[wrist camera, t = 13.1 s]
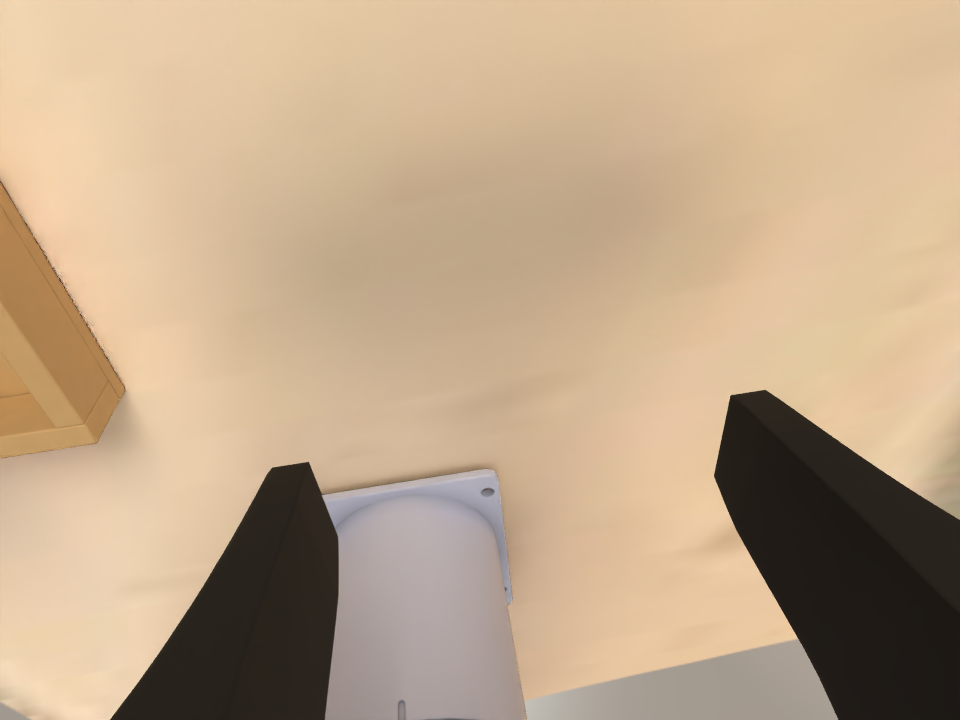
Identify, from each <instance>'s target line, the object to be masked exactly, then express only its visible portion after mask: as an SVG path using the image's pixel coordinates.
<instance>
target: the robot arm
mask: <svg viewBox="0 0 960 720" xmlns="http://www.w3.org/2000/svg"><path fill="white" fill-rule="evenodd" d="M714 477H715V480H716V482H717V485H718V487H719V490H720V492H721V495H722V497H723V500H724V502H725V505H726V507H727V509H728V512H729V514H730V516H731V519H732V521H733V523H734V526H735V528H736V530H737V532H738V534H739V536H740V537H741V539H742V541H743V543H744V545H745V546H746V548H747V550H748V552H749V553H750V555H751V557H752V559H753V561H754V562H755V564H756V566H757V568H758V569H759V571H760V573H761V575H762V576H763V578H764V580H765V582H766V583H767V585H768V587H769V589H770V590H771V592H772V594H773V595H774V597H775V599H776V601H777V602H778V604H779V606H780V608H781V609H782V611H783V613H784V615H785V616H786V618H787V620H788V622H789V623H790V625H791V627H792V629H793V630H794V632H795V634H796V635H797V637H798V639H799V641H800V642H801V644H802V646H803V648H804V649H805V651H806V653H807V655H808V657H809V659H810V661H811V663H812V665H813V667H814V668H815V670H816V672H817V674H818V676H819V678H820V680H821V682H822V685H823V687H824V689H825V691H826V693H827V696H828V698H829V700H830V702H831V704H832V706H833V709H834V711H835V713H836V715H837V717H838V720H960V520H959V519H957V518H955V517H954V516H952V515H951V514H949V513H947V512H946V511H944V510H942V509H941V508H939V507H937V506H936V505H934V504H933V503H931V502H929V501H928V500H926V499H924V498H923V497H921V496H920V495H918V494H917V493H915V492H913V491H912V490H910V489H909V488H907V487H906V486H904V485H903V484H901V483H899V482H898V481H896V480H895V479H893V478H892V477H890V476H889V475H887V474H886V473H884V472H883V471H881V470H880V469H878V468H877V467H875V466H874V465H872V464H871V463H869V462H868V461H867V460H865V459H864V458H862V457H861V456H859V455H858V454H856V453H855V452H853V451H852V450H851V449H849V448H848V447H846V446H845V445H843V444H842V443H840V442H839V441H838V440H836V439H835V438H833V437H832V436H831V435H829V434H828V433H826V432H825V431H823V430H822V429H821V428H819V427H818V426H816V425H815V424H814V423H812V422H811V421H809V420H808V419H807V418H805V417H804V416H802V415H801V414H800V413H798V412H797V411H795V410H794V409H792V408H791V407H790V406H788V405H787V404H785V403H784V402H782V401H781V400H780V399H778V398H777V397H775V396H774V395H772V394H771V393H769V392H768V391H766V390H762V391H756V392H749V393H743V394H737V395H731V396H730V401H729V406H728V411H727V415H726V420H725V425H724V430H723V435H722V440H721V445H720V449H719V454H718V459H717V464H716V469H715V474H714ZM486 488H489V489H486ZM512 600H513V597H512V589H511V580H510V572H509V563H508V555H507V547H506V538H505V530H504V521H503V513H502V505H501V496H500V488H499V480H498V475H497V473H496V472H495V471H494V470H491V469H481V470H475V471H468V472H462V473H456V474H450V475H443V476H437V477H431V478H425V479H418V480H412V481H406V482H400V483H393V484H387V485H381V486H375V487H368V488H362V489H356V490H350V491H343V492H337V493H331V494H325V495H322V494H321V492H320V489H319V487H318V484H317V482H316V479H315V477H314V474H313V472H312V469H311V466H310V464H309V462H306V463H299V464H293V465H287V466H280V467H274V468H272V469H271V470H270V471H269V472H268V474H267V475H266V477H265V479H264V481H263V483H262V485H261V487H260V488H259V490H258V492H257V494H256V496H255V498H254V500H253V501H252V503H251V505H250V507H249V509H248V510H247V512H246V514H245V516H244V518H243V520H242V521H241V523H240V525H239V527H238V528H237V530H236V532H235V534H234V535H233V537H232V539H231V541H230V542H229V544H228V546H227V548H226V549H225V551H224V553H223V554H222V556H221V558H220V559H219V561H218V562H217V564H216V566H215V567H214V569H213V571H212V572H211V574H210V576H209V577H208V579H207V581H206V582H205V584H204V586H203V587H202V589H201V591H200V592H199V594H198V595H197V597H196V599H195V600H194V602H193V603H192V605H191V606H190V608H189V609H188V611H187V612H186V614H185V615H184V617H183V618H182V620H181V621H180V623H179V624H178V626H177V627H176V629H175V630H174V632H173V633H172V635H171V636H170V638H169V639H168V641H167V642H166V644H165V645H164V647H163V648H162V650H161V651H160V653H159V654H158V656H157V657H156V658H155V660H154V661H153V663H152V664H151V665H150V667H149V668H148V670H147V671H146V672H145V674H144V675H143V677H142V678H141V679H140V681H139V682H138V683H137V685H136V686H135V687H134V689H133V690H132V692H131V693H130V694H129V695H128V697H127V698H126V699H125V701H124V702H123V703H122V705H121V706H120V707H119V709H118V710H117V711H116V713H115V714H114V715H113V716H112V718H111V719H110V720H527V715H526V710H525V704H524V698H523V692H522V686H521V680H520V674H519V669H518V663H517V657H516V651H515V645H514V639H513V634H512V628H511V622H510V616H509V610H508V605H509V604H510V603H511V602H512Z"/></svg>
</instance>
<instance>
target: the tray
mask: <svg viewBox="0 0 960 720" xmlns="http://www.w3.org/2000/svg"><path fill="white" fill-rule="evenodd" d="M124 391H125V389H124V387H123V385H122V384H121V382H120V380H119V379H118V377H117V375H116V374H115V372H114V370H113V369H112V367H111V365H110V364H109V362H108V360H107V359H106V357H105V356H104V354H103V352H102V351H101V349H100V347H99V346H98V344H97V342H96V341H95V339H94V337H93V336H92V334H91V332H90V331H89V329H88V327H87V326H86V324H85V322H84V321H83V319H82V317H81V316H80V314H79V312H78V311H77V309H76V307H75V306H74V304H73V302H72V301H71V299H70V297H69V296H68V294H67V292H66V291H65V289H64V287H63V286H62V284H61V282H60V281H59V279H58V277H57V276H56V274H55V272H54V271H53V269H52V268H51V266H50V264H49V263H48V261H47V259H46V258H45V256H44V254H43V253H42V251H41V249H40V248H39V246H38V244H37V243H36V241H35V239H34V238H33V236H32V234H31V233H30V231H29V229H28V228H27V226H26V224H25V223H24V221H23V219H22V218H21V216H20V214H19V213H18V211H17V209H16V208H15V206H14V204H13V203H12V201H11V199H10V198H9V196H8V194H7V193H6V191H5V189H4V188H3V186H2V184H1V183H0V458H5V457H12V456H18V455H25V454H31V453H37V452H44V451H50V450H57V449H63V448H70V447H76V446H83V445H89V444H95V443H97V442H98V440H99V438H100V436H101V434H102V433H103V431H104V429H105V427H106V425H107V423H108V421H109V419H110V417H111V415H112V413H113V411H114V410H115V408H116V406H117V404H118V402H119V399H120V398H121V396H122V394H123V393H124Z"/></svg>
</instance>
